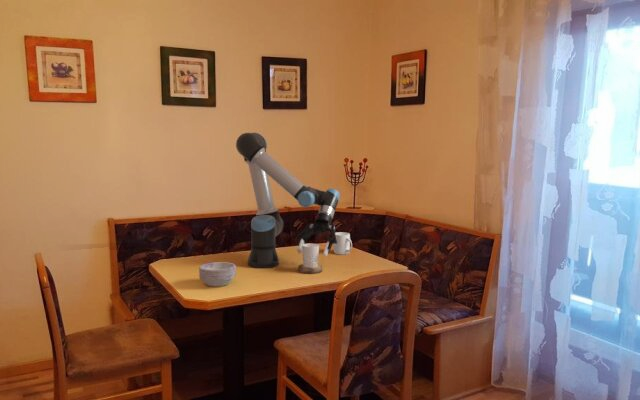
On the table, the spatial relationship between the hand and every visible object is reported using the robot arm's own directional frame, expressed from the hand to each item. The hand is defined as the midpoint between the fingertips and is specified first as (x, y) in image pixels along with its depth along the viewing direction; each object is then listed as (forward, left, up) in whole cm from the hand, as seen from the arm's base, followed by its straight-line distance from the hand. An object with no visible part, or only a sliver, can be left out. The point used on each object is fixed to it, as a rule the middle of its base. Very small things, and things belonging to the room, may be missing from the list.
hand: (311, 253), depth 240 cm
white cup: (0, 0, -6) cm, 6 cm away
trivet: (0, 0, -8) cm, 8 cm away
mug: (+25, +31, -9) cm, 40 cm away
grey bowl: (-43, -13, -9) cm, 46 cm away
